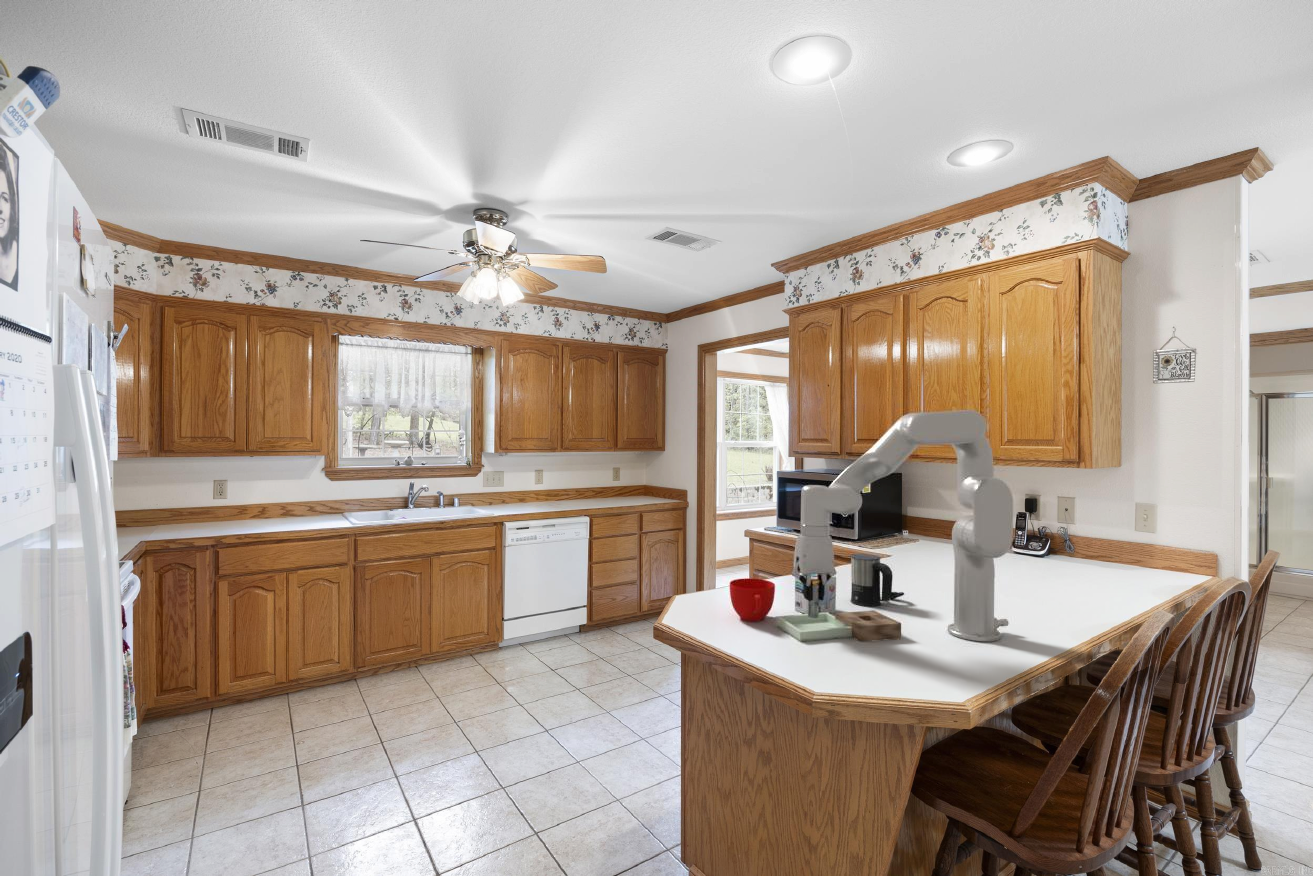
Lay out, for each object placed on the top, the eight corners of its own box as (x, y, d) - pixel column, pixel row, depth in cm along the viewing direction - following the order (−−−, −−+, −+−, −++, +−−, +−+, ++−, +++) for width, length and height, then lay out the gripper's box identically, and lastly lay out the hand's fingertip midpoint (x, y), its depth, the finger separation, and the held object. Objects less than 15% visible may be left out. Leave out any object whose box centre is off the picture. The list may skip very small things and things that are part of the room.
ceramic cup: (735, 629, 168) (735, 592, 167) (726, 611, 184) (726, 578, 184) (782, 629, 168) (782, 592, 168) (769, 611, 185) (769, 578, 185)
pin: (815, 614, 169) (816, 578, 168) (820, 617, 166) (821, 580, 166) (806, 615, 168) (806, 578, 168) (811, 618, 165) (812, 581, 165)
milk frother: (845, 603, 195) (845, 556, 195) (864, 593, 207) (865, 549, 207) (890, 611, 186) (890, 562, 186) (908, 601, 198) (908, 555, 197)
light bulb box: (807, 616, 181) (808, 579, 181) (793, 610, 187) (794, 574, 187) (836, 612, 185) (837, 576, 185) (822, 606, 191) (822, 571, 191)
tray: (826, 621, 176) (826, 612, 176) (855, 636, 162) (855, 627, 162) (775, 625, 171) (775, 616, 171) (800, 642, 158) (800, 632, 158)
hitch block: (873, 624, 173) (873, 610, 173) (901, 638, 161) (901, 623, 161) (835, 627, 170) (835, 613, 170) (860, 642, 158) (860, 626, 158)
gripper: (834, 528, 172) (833, 594, 173) (781, 530, 168) (779, 597, 168) (849, 532, 165) (848, 601, 165) (794, 534, 161) (793, 605, 161)
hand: (813, 598), depth 167 cm, fingers closed on pin, 2 cm apart
